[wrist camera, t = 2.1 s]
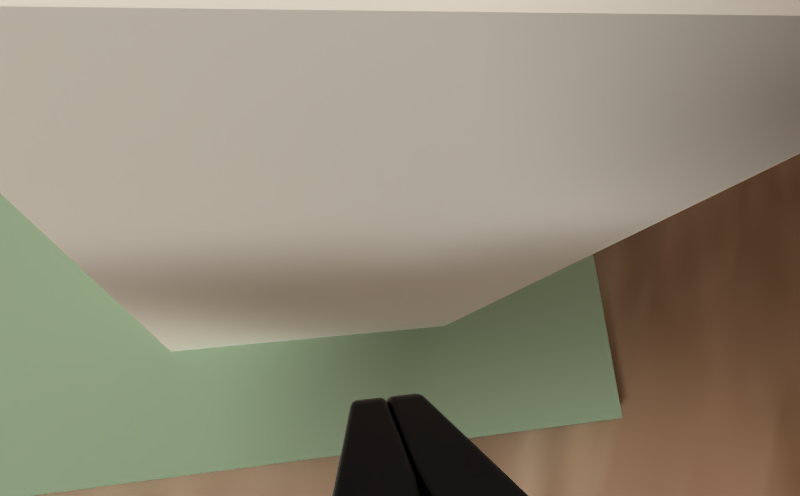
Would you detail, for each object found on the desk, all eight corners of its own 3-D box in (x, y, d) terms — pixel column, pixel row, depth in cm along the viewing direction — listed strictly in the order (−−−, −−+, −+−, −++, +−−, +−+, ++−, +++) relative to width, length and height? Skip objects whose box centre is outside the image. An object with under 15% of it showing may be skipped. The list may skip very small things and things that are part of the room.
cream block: (444, 326, 16) (1076, 19, 4) (170, 351, 15) (-204, 5, 3) (404, 11, 18) (753, -898, 6) (155, 9, 17) (-113, -1202, 4)
